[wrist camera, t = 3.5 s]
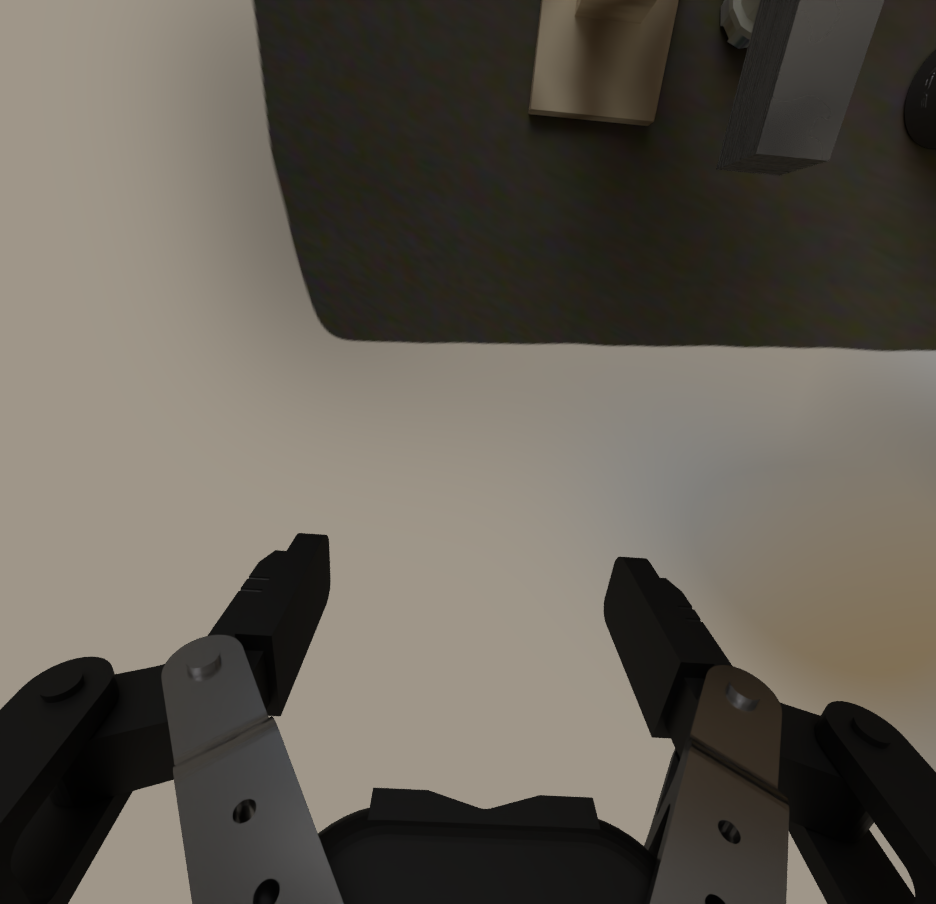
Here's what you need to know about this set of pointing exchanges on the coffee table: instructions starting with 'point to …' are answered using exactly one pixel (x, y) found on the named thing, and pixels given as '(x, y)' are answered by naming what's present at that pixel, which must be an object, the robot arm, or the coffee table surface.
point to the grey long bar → (796, 83)
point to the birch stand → (601, 59)
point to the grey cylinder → (739, 20)
